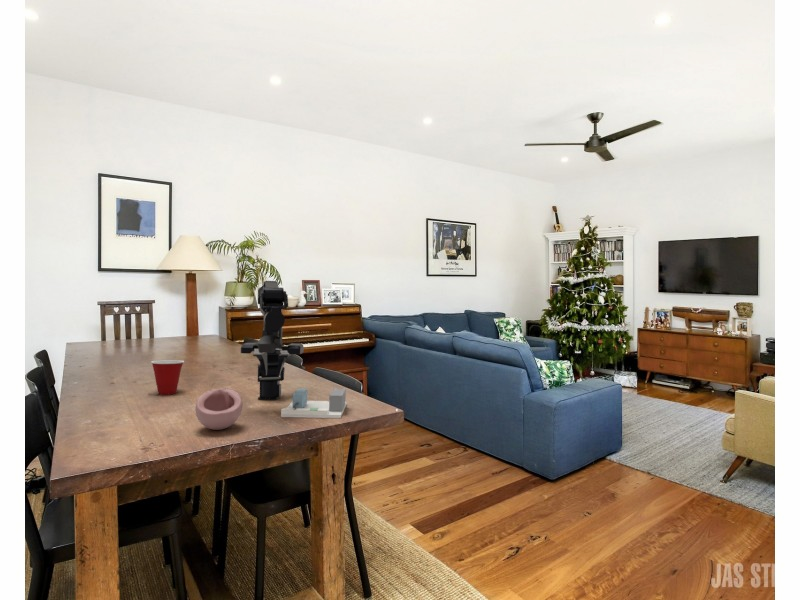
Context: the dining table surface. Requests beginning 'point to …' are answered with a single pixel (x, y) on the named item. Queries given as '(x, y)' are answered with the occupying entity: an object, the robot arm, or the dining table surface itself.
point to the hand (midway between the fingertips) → (272, 375)
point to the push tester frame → (320, 407)
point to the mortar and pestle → (218, 408)
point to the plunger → (300, 398)
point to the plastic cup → (167, 375)
